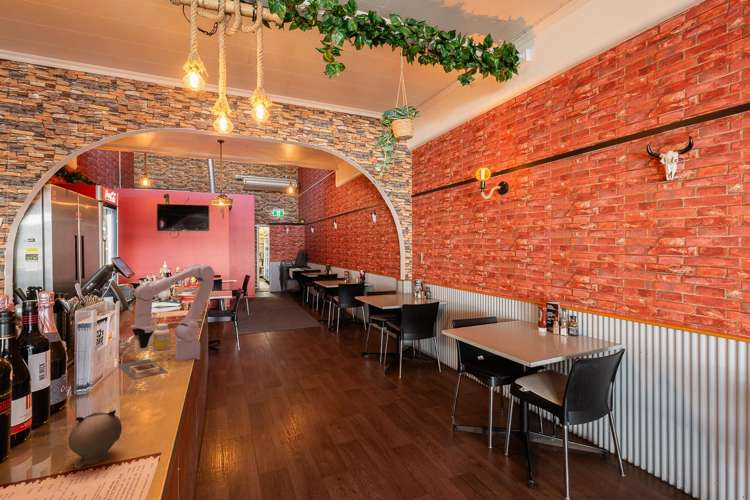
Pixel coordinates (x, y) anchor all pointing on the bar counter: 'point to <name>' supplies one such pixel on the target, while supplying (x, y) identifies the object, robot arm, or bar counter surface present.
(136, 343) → the plug
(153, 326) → the syrup box
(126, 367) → the mat
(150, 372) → the frame
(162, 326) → the supplement bottle
